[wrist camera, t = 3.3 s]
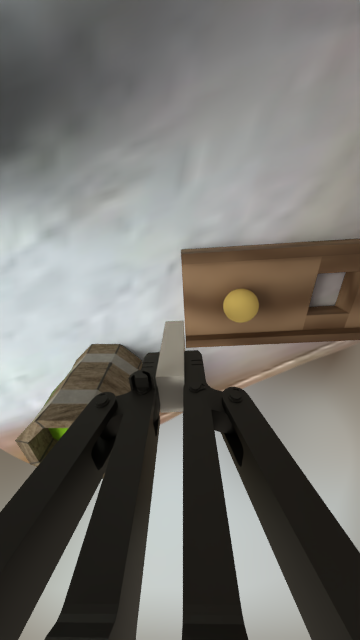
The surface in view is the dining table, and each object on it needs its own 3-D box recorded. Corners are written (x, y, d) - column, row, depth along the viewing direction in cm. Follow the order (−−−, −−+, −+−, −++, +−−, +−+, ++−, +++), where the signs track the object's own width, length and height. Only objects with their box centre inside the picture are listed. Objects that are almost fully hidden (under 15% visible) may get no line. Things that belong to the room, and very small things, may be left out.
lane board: (181, 249, 22) (181, 254, 18) (380, 237, 21) (416, 239, 18) (185, 332, 27) (186, 347, 23) (346, 325, 26) (370, 339, 23)
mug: (82, 331, 27) (16, 404, 16) (155, 355, 29) (139, 435, 18) (67, 403, 33) (13, 488, 23) (127, 419, 35) (103, 505, 24)
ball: (220, 285, 21) (228, 296, 18) (253, 283, 21) (266, 294, 18) (219, 314, 23) (226, 329, 19) (250, 313, 23) (261, 327, 19)
